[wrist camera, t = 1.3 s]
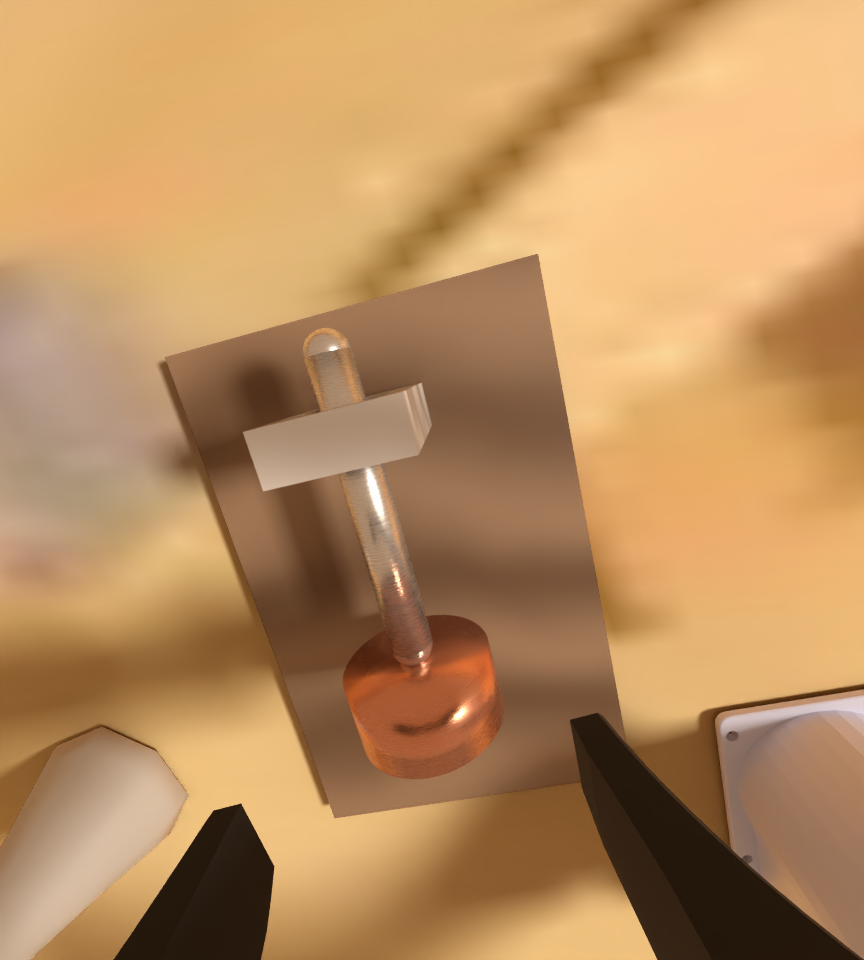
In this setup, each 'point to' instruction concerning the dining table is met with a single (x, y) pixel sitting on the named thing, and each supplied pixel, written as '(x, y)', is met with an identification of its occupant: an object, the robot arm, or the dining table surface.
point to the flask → (81, 834)
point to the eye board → (415, 516)
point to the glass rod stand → (404, 623)
